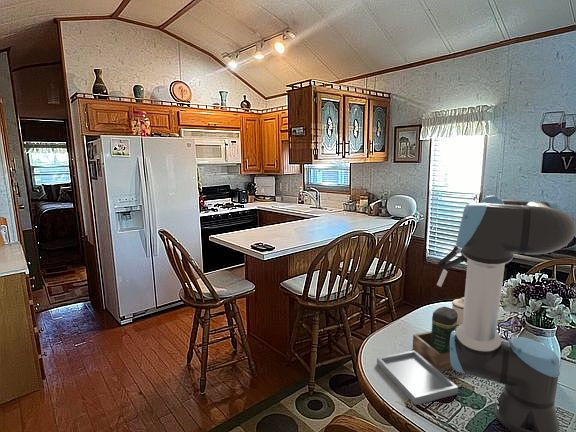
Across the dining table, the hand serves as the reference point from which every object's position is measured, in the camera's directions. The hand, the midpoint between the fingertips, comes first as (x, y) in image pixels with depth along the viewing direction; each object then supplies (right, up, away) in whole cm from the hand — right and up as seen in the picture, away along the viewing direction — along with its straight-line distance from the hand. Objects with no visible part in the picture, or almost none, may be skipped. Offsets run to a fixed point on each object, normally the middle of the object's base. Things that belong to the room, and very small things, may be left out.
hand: (456, 293), depth 129 cm
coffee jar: (-4, -25, +4) cm, 25 cm away
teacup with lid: (+17, -19, +31) cm, 40 cm away
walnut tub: (-4, -24, +4) cm, 25 cm away
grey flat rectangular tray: (-18, -27, -9) cm, 34 cm away
